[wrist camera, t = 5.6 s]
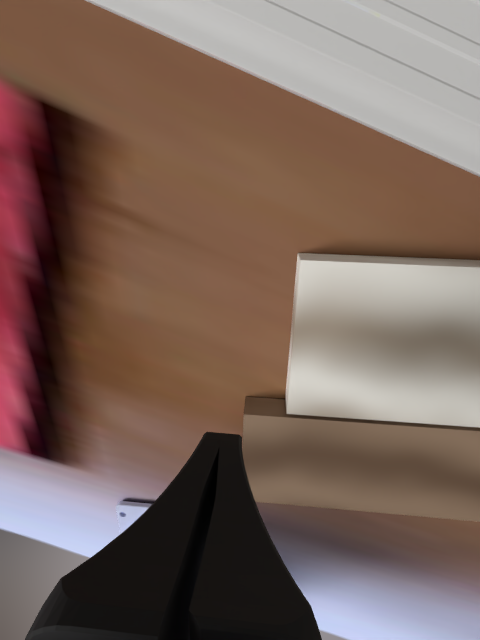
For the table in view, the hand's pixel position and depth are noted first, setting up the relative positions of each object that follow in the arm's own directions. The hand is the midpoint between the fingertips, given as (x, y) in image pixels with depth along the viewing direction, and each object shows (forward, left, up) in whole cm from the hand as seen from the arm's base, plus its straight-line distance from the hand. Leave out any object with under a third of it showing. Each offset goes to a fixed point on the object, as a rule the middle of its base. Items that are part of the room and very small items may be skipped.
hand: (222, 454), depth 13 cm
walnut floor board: (-7, -8, -9) cm, 14 cm away
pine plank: (+1, -8, -9) cm, 12 cm away
